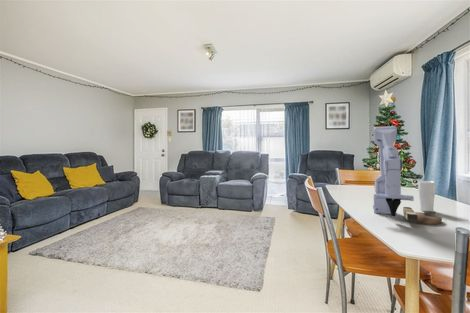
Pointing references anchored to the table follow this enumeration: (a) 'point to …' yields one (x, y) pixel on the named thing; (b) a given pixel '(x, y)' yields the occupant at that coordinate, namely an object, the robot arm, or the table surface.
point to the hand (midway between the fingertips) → (393, 215)
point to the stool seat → (428, 218)
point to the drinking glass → (426, 195)
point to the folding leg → (410, 214)
